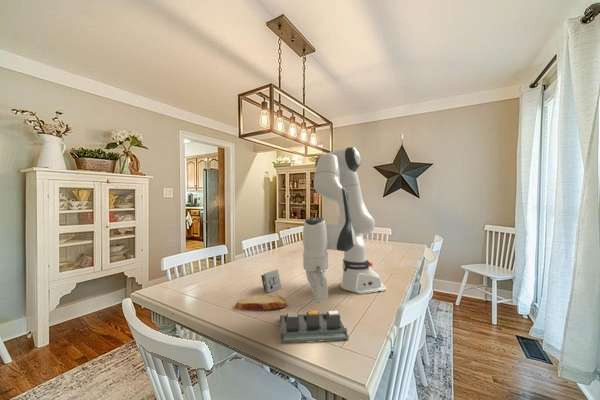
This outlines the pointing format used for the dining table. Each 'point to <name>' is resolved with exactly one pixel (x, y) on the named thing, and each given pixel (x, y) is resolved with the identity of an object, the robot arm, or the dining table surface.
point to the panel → (311, 331)
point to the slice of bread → (261, 303)
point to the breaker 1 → (292, 322)
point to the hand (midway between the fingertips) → (316, 301)
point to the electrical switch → (271, 281)
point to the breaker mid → (312, 320)
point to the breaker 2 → (333, 320)
